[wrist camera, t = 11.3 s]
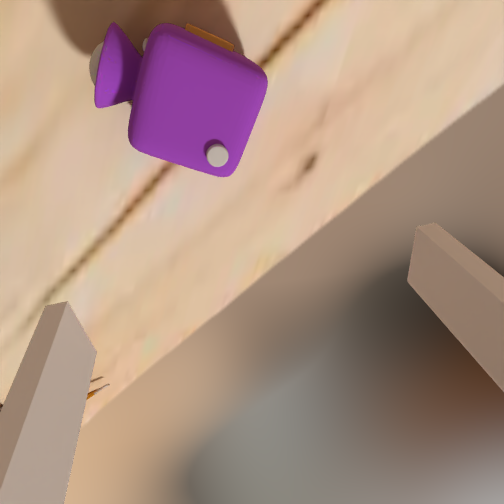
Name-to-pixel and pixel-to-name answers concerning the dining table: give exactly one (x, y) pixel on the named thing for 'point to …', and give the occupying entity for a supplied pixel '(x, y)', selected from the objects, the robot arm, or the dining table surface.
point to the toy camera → (181, 95)
